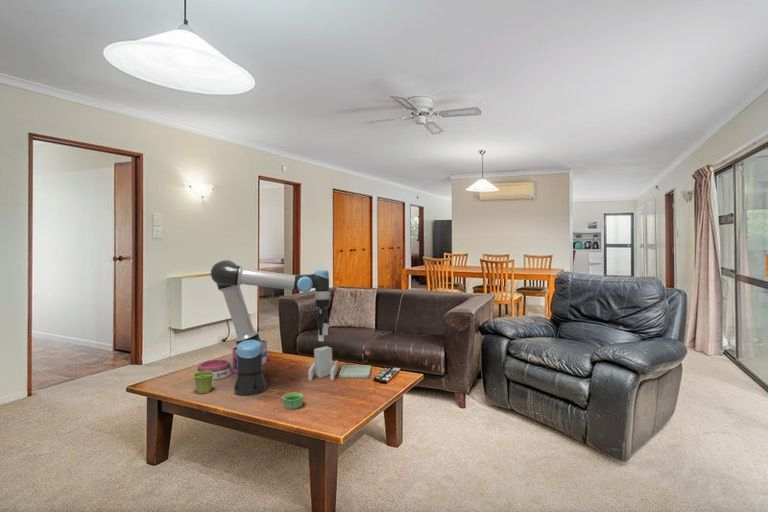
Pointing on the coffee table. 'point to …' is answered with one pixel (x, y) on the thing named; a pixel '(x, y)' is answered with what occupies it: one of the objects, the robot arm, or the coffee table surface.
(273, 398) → the coffee table surface
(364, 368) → the tray
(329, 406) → the coffee table surface
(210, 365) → the dog bowl
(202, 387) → the plant pot
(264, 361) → the gum box
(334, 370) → the bay
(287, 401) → the ramekin
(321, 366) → the skincare box
